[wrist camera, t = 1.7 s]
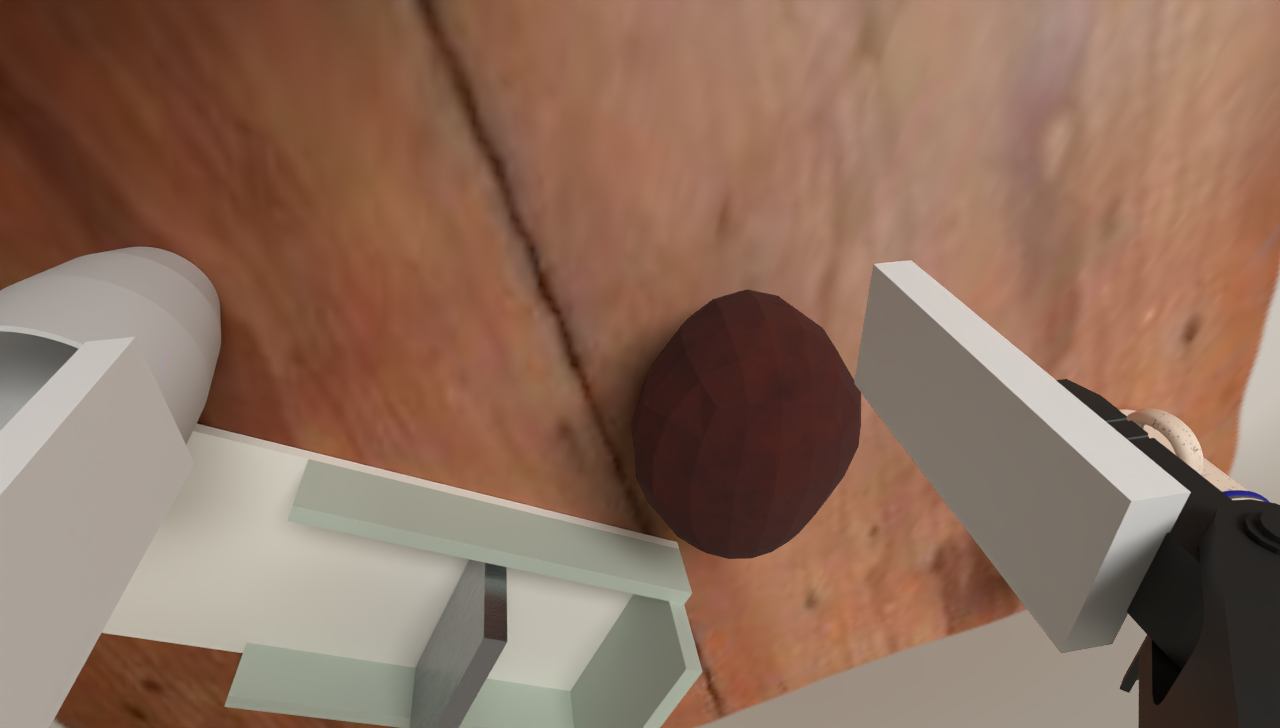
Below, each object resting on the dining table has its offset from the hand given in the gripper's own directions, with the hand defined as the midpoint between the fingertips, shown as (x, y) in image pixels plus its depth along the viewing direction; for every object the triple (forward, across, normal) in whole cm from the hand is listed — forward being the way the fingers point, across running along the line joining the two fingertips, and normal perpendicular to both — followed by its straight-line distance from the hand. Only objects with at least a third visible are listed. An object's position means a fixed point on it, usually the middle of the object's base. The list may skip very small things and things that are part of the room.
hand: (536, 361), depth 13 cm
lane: (+20, -12, -26) cm, 34 cm away
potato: (+20, +9, -14) cm, 26 cm away
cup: (+20, -16, -7) cm, 27 cm away
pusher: (+19, -7, -28) cm, 35 cm away
